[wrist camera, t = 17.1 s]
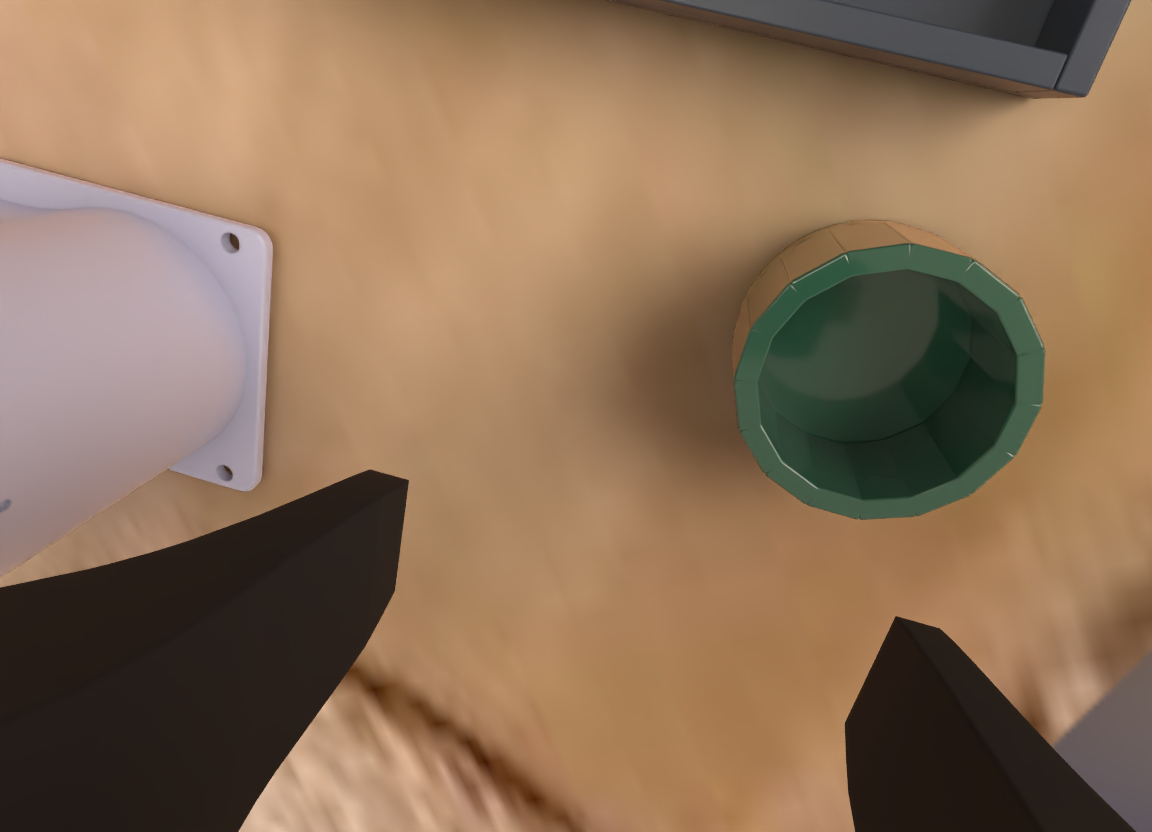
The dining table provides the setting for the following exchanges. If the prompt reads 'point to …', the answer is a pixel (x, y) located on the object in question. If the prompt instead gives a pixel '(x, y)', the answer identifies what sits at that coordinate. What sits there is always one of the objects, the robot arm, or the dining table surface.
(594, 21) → the dining table surface
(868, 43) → the tray
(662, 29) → the dining table surface
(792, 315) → the pen pot
